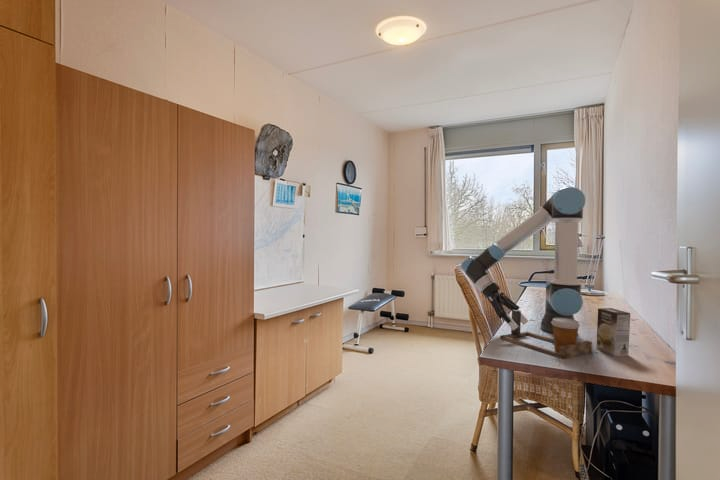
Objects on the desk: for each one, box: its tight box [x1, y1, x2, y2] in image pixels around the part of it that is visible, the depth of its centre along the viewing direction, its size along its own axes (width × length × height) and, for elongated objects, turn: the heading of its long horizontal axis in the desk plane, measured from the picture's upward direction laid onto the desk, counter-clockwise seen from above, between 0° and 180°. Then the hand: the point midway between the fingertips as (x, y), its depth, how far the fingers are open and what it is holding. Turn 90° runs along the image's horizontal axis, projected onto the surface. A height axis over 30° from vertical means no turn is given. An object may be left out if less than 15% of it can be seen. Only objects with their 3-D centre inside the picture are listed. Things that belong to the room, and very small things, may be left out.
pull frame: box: [499, 309, 593, 360], centre depth 150 cm, size 17×29×11 cm, turn 28°
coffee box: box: [596, 307, 631, 357], centre depth 143 cm, size 9×6×16 cm
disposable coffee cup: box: [551, 318, 581, 352], centre depth 142 cm, size 10×10×12 cm
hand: (521, 325), depth 160 cm, fingers open, 13 cm apart
